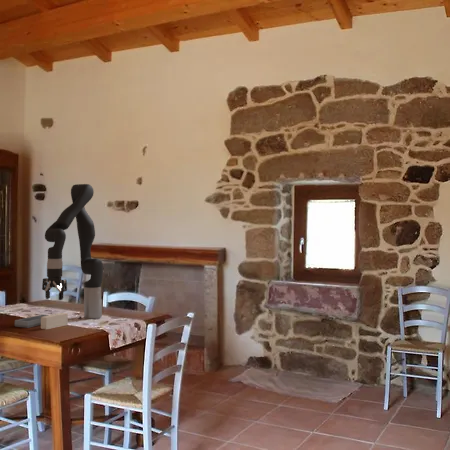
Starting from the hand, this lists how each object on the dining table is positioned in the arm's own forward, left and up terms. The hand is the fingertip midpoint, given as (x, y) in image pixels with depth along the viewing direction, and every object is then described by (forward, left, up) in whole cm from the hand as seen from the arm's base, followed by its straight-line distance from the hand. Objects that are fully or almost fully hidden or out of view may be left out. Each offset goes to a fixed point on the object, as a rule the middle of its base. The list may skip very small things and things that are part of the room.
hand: (54, 299), depth 271 cm
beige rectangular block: (0, 0, -14) cm, 14 cm away
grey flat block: (-1, -14, -14) cm, 20 cm away
